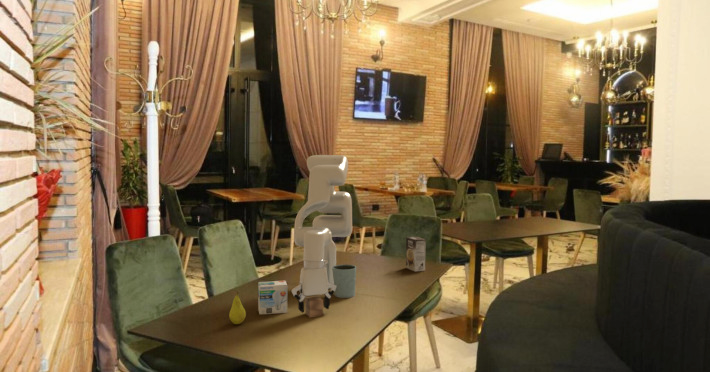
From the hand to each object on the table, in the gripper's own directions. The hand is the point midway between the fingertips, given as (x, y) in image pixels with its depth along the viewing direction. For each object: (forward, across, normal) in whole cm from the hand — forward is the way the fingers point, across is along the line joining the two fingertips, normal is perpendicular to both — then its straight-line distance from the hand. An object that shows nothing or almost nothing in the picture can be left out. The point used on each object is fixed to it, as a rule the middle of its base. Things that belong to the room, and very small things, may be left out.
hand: (314, 309), depth 190 cm
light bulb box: (+2, +13, -10) cm, 17 cm away
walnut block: (+2, 0, 0) cm, 2 cm away
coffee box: (+2, -71, -47) cm, 85 cm away
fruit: (+2, +28, -1) cm, 28 cm away
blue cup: (+2, -20, -19) cm, 28 cm away
